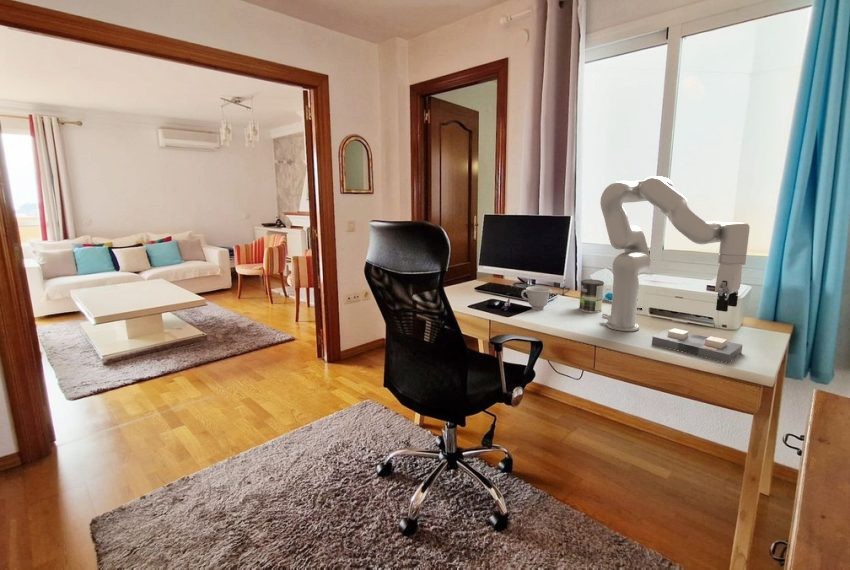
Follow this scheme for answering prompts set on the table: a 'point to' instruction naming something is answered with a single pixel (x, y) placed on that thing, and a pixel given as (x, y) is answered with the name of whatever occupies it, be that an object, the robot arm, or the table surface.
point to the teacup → (537, 296)
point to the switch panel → (698, 346)
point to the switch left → (678, 334)
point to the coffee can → (591, 295)
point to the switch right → (716, 342)
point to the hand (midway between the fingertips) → (726, 308)
